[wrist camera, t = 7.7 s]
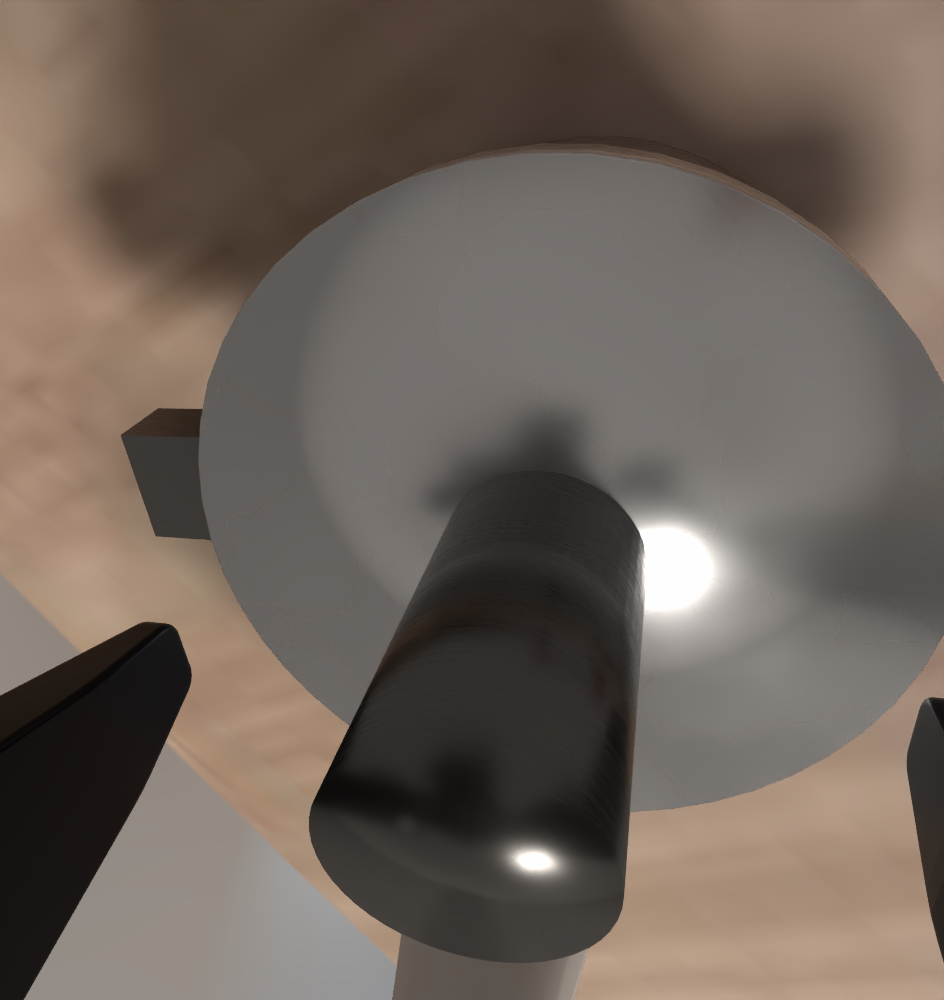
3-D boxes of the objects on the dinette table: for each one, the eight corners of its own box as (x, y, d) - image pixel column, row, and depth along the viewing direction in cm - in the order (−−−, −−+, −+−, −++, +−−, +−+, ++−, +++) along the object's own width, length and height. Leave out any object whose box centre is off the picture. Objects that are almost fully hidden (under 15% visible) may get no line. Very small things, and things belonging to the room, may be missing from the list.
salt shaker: (412, 709, 24) (189, 1266, 13) (590, 693, 22) (499, 1338, 11) (475, 833, 26) (331, 1387, 16) (641, 829, 24) (606, 1466, 14)
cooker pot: (1064, 104, 13) (1309, 150, 8) (934, 589, 18) (1031, 806, 13) (217, 162, 17) (15, 218, 12) (306, 548, 22) (192, 703, 17)
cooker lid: (1060, 111, 8) (1670, 236, 3) (870, 804, 14) (979, 1253, 9) (148, 168, 11) (-323, 288, 6) (300, 729, 16) (130, 1039, 11)
